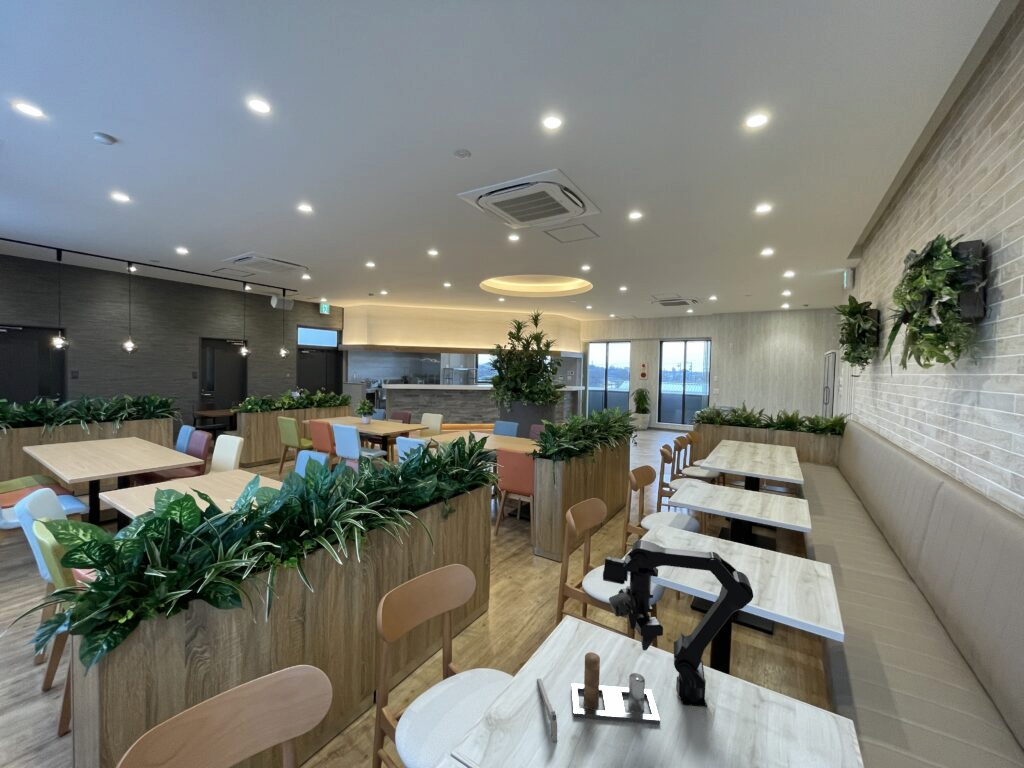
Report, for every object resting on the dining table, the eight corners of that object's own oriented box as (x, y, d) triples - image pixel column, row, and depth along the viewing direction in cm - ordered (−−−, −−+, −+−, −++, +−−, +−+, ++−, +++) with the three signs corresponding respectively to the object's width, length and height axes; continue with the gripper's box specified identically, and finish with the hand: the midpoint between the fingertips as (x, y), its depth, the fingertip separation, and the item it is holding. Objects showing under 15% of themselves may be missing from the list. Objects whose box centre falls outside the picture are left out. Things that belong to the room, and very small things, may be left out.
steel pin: (642, 701, 116) (643, 673, 115) (645, 713, 112) (646, 685, 111) (627, 700, 116) (628, 672, 116) (629, 712, 112) (630, 683, 112)
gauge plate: (650, 693, 119) (650, 689, 118) (659, 724, 109) (660, 720, 109) (571, 687, 120) (571, 683, 120) (573, 717, 110) (573, 712, 110)
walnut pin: (594, 696, 117) (595, 651, 117) (601, 707, 114) (602, 661, 113) (581, 698, 116) (582, 653, 116) (587, 710, 113) (588, 664, 112)
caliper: (557, 743, 103) (557, 719, 103) (553, 744, 103) (553, 719, 103) (540, 679, 123) (540, 659, 123) (536, 680, 123) (536, 659, 123)
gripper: (602, 570, 129) (601, 619, 130) (624, 607, 111) (622, 664, 112) (638, 569, 130) (636, 618, 131) (665, 605, 112) (662, 661, 113)
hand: (638, 639), depth 122 cm, fingers open, 9 cm apart
